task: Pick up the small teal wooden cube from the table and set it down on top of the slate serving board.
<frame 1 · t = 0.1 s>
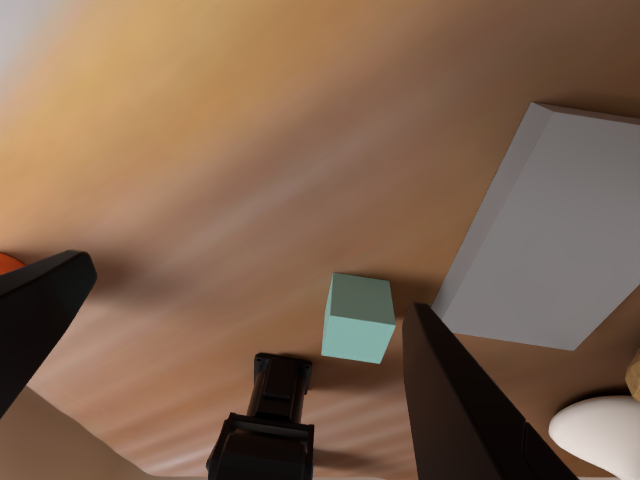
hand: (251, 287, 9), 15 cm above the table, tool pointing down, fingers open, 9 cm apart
teal cube: (355, 296, 29), on the table
slate board: (547, 239, 24), on the table
flower in vase: (590, 406, 36), on the table
paper cup: (11, 272, 31), on the table
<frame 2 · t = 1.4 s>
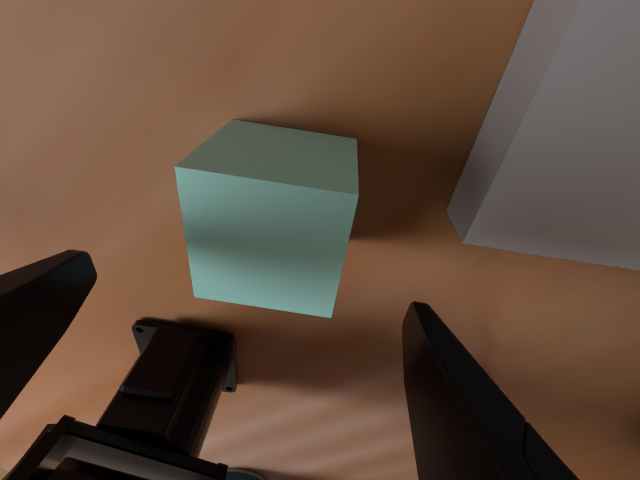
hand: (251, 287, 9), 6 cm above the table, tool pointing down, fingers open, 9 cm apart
teal cube: (290, 185, 14), on the table
soda can: (241, 476, 35), on the table
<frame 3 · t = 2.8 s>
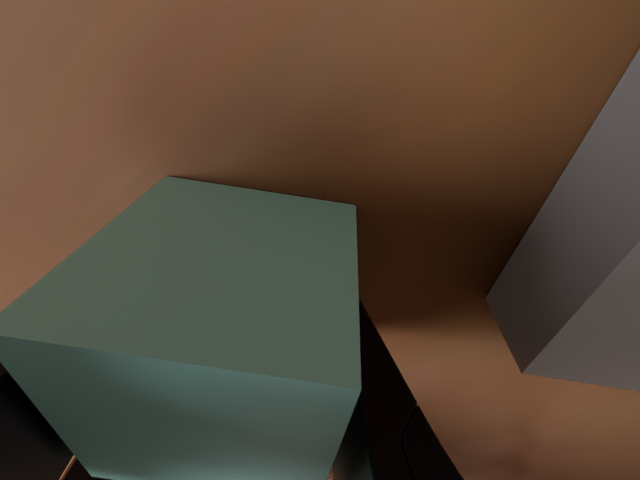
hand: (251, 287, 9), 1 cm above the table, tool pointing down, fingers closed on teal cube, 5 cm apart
teal cube: (259, 263, 10), on the table, touching gripper
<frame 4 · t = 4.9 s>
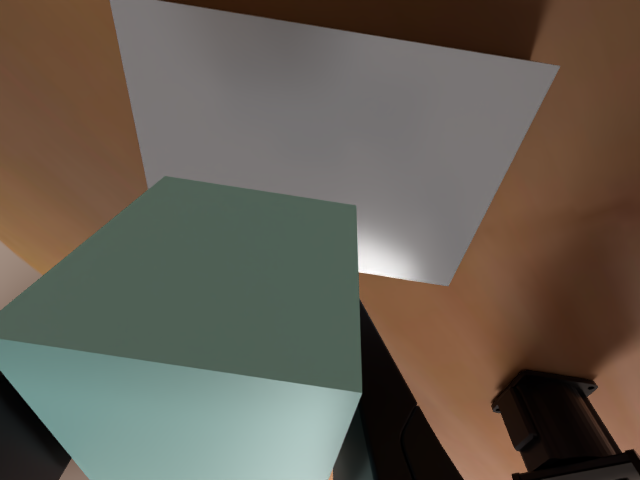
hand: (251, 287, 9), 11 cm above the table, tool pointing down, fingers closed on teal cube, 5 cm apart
teal cube: (259, 264, 9), point 10 cm above the table, touching gripper
slate board: (320, 155, 18), on the table
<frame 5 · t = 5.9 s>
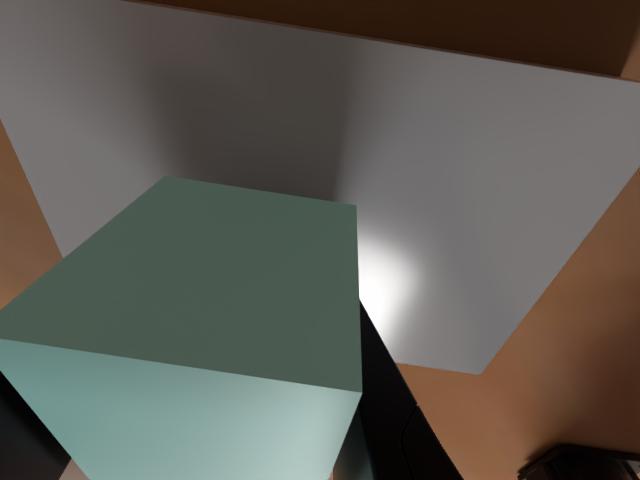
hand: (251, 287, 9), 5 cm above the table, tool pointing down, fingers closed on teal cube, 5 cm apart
teal cube: (259, 264, 9), point 4 cm above the table, touching gripper
slate board: (305, 205, 13), on the table
when the fingers open (4 cm above the table, at t = 6.8 s): teal cube stays where it is, resting on slate board.
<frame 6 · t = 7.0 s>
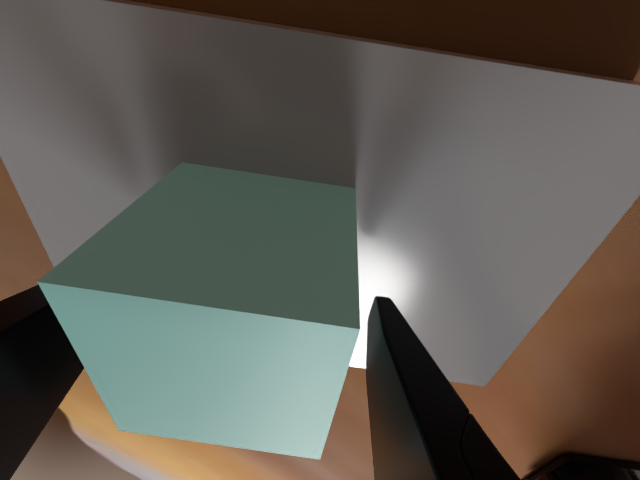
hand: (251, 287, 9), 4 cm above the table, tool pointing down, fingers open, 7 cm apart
teal cube: (266, 245, 10), point 2 cm above the table, touching slate board
slate board: (305, 212, 12), on the table
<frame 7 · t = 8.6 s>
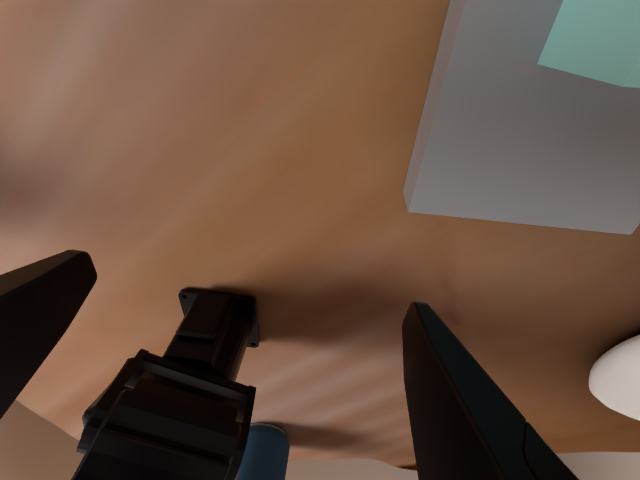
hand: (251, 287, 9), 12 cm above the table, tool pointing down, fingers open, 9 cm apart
slate board: (584, 22, 14), on the table
soda can: (265, 431, 42), on the table
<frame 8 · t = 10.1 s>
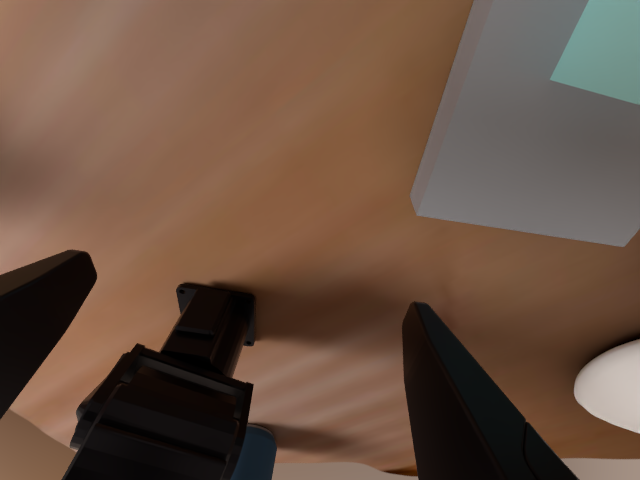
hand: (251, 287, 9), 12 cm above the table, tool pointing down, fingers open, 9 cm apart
slate board: (591, 44, 15), on the table
soda can: (253, 432, 41), on the table
flower in vase: (630, 357, 27), on the table
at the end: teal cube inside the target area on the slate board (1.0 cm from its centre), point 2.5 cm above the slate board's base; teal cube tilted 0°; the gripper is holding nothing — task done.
